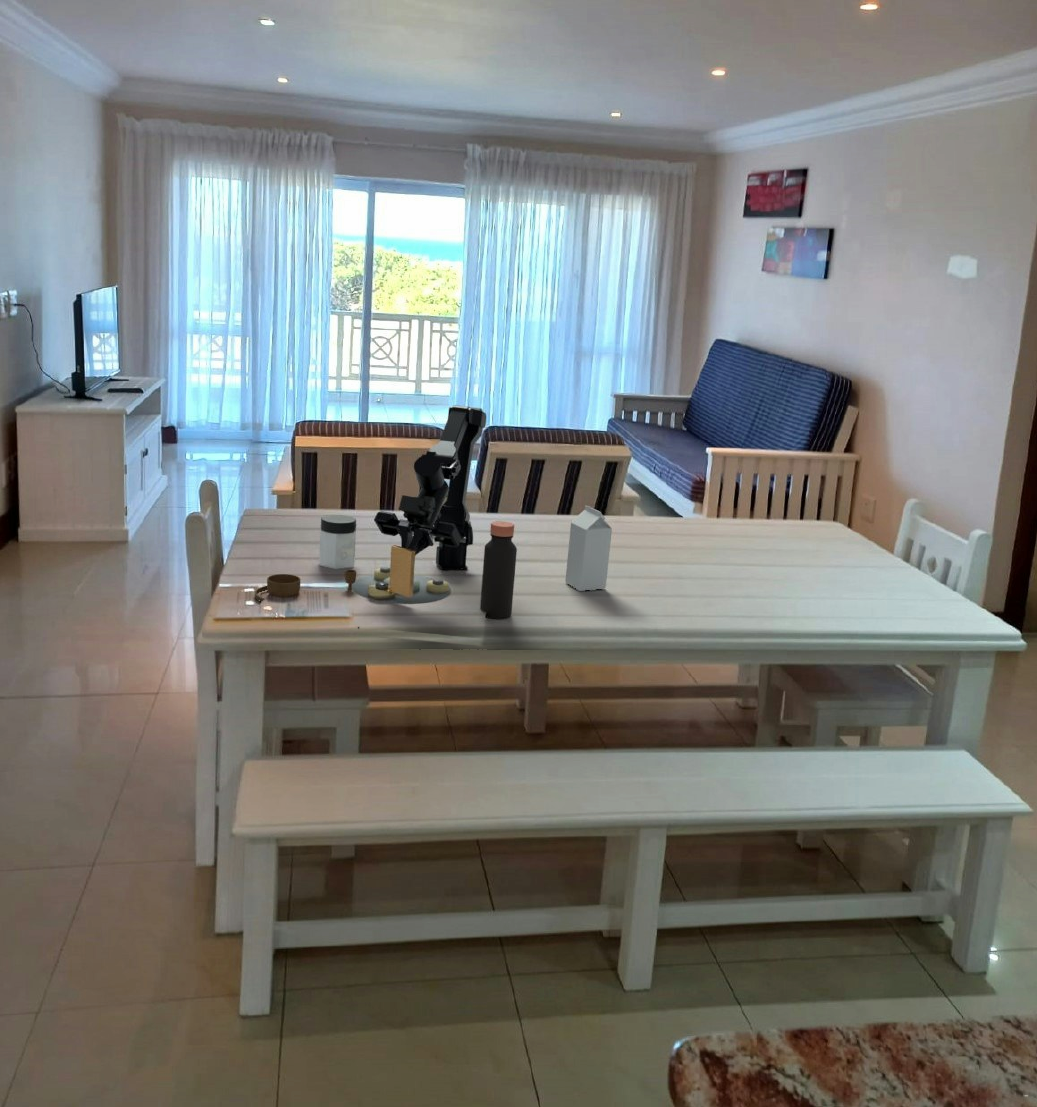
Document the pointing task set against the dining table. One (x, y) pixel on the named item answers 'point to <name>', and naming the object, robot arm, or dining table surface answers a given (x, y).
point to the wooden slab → (396, 576)
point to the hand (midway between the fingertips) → (403, 562)
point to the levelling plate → (422, 593)
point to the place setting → (293, 584)
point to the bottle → (499, 571)
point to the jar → (337, 541)
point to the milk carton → (588, 551)
